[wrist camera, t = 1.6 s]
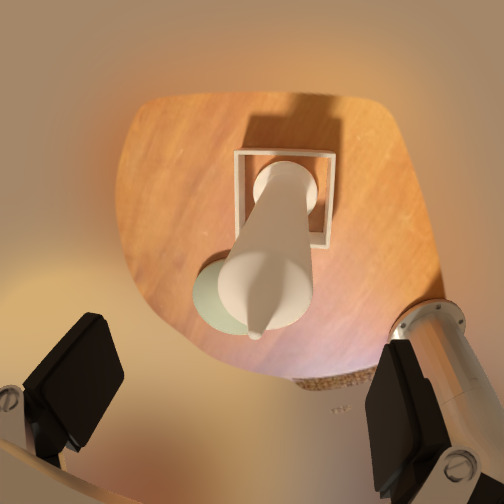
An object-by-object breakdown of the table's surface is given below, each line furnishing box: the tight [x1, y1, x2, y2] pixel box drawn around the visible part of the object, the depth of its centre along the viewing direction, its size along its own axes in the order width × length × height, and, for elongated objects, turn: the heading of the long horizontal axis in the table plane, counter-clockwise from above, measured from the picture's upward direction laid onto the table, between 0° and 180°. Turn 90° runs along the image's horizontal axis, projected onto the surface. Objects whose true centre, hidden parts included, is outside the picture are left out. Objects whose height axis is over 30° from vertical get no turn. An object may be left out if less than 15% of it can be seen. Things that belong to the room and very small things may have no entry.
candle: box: [218, 161, 317, 340], centre depth 23 cm, size 7×7×25 cm
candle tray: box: [234, 148, 336, 249], centre depth 32 cm, size 10×10×4 cm
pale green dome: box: [193, 258, 248, 335], centre depth 40 cm, size 11×11×1 cm
